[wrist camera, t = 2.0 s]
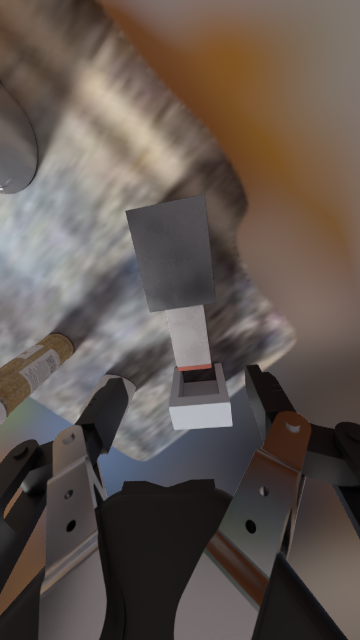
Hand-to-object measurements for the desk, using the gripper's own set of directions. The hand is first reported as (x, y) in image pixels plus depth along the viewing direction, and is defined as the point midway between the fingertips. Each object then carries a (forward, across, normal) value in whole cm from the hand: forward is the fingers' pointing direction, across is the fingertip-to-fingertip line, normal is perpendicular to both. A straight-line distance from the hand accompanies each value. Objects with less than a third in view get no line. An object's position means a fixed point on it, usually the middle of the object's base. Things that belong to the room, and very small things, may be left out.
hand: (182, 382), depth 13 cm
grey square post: (+14, 0, -2) cm, 14 cm away
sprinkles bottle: (+14, +20, +3) cm, 25 cm away
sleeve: (+14, 0, -7) cm, 16 cm away
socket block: (+14, 0, +11) cm, 18 cm away
